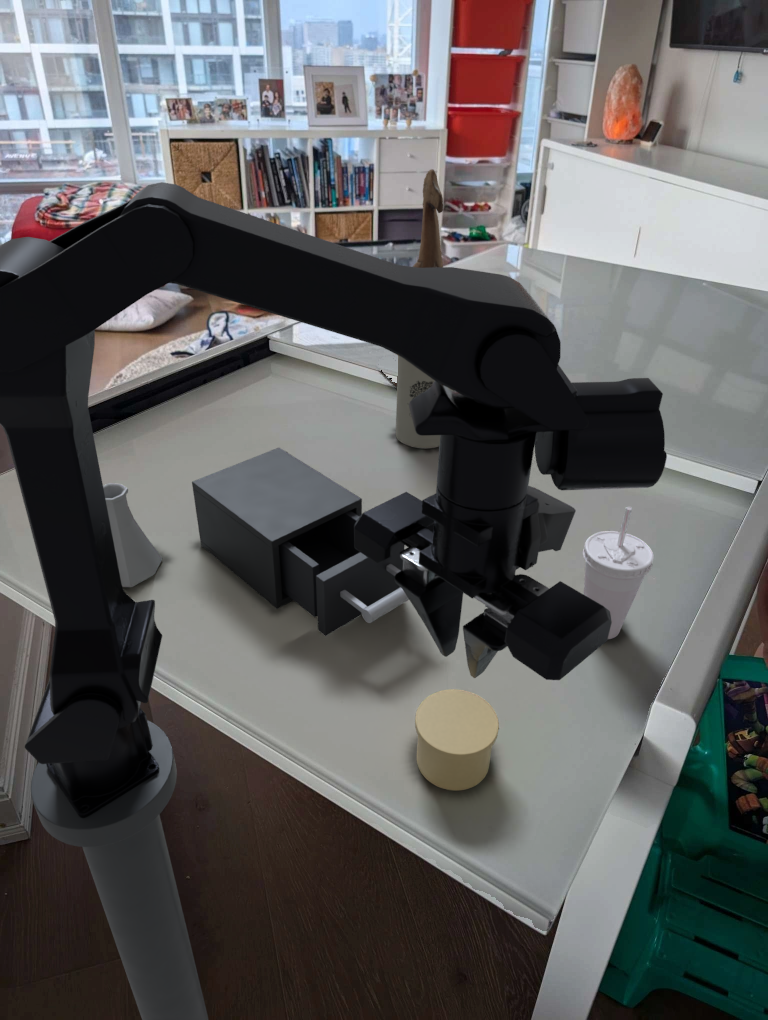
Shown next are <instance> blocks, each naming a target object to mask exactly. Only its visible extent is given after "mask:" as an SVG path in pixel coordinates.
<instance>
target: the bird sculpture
mask: <svg viewBox="0 0 768 1020" xmlns="http://www.w3.org/2000/svg"><path fill="white" fill-rule="evenodd" d="M422 199H423V200H422V223H421V234H420V235H421V237H420V245H419V252H418V259H417V261H416V262H415V263H414V264H413V266H412V267H417V268H436V267H444V266H443V265H444V264H443V257H442V256H443V254H442V246H441V235H440V225H439V224H440V223H439V221H440V220H439V215H438V214H441V213H443V211H444V198H443V194H442V192H441V189H440V186H439V180H438V175H437V173H436V171H435V169H434V168H431V169H429V170H428V171H427V172H426V174H425V177H424V178H423V185H422ZM391 384H393V385H394V386H395V387H397V383H395V382H391Z"/></svg>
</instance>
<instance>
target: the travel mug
mask: <svg viewBox="0 0 768 1020" xmlns="http://www.w3.org/2000/svg"><path fill="white" fill-rule="evenodd" d="M434 381H435V380H433V379H432V378H430V377H429V376H428V375H426V374H425V373H423V372H422V371H421V370H419V369H418V368H416V367H415V366H414V365H412V364H411V363H409V362H408V361H407V360H405V359H404V358H402V357H401V356H399V355H398V376H397V386H396V411H395V413H396V414H395V437H396V439H397V440H398V441H399V442H401V443H402V444H404V445H406V446H409V447H411V448H415V449H416V448H417V449H423V450H424V449H434V448H439V445H440V435H428V436H421V435H418V434H417V433H416V431H415V427H414V424H413V420H412V416H411V413H410V409H409V403H410V401H411V400H412V399H414V398H416V397H417V396H418V395H420V394H421V393H423V392H425V391H427V390H428V389H429V388H430V387H431V386H432V385H433V383H434ZM447 388H448V387H447ZM448 389H450V388H448ZM450 390H452V389H450ZM452 391H454V390H452Z"/></svg>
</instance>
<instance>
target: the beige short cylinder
mask: <svg viewBox="0 0 768 1020" xmlns="http://www.w3.org/2000/svg"><path fill="white" fill-rule="evenodd" d="M414 727H415V730H416V735H417V743H416V744H417V745H416V764H417V767H418V770H419V771H420V773H421V774H422V776H423V777H424V778H425V779H426V780H427V781H428V782H429V783H430V784H432V785H434V786H436V787H438V788H440V789H443V790H447V791H465V790H469V789H471V788H474V787H476V786H477V785H479V784H480V783H481V782H482V781H483V780H484V779H485V777H486V776H487V774H488V772H489V769H490V762H491V756H492V749H493V746H494V744H495V743H496V740H497V738H498V736H499V735H498V734H499V729H500V728H499V727H500V722H499V717H498V715H497V712H496V711H495V709H494V707H493V706H492V705H491V704H490V703H489V702H488V701H487V700H486V699H485V698H484V697H482V696H480V695H479V694H476V693H473V692H472V691H468V690H463V689H453V688H451V689H443V690H439V691H436V692H434V693H431V694H430V695H428V696H426V697H425V698H424V699H423V700H422V701H421V702H420V704H419V705H418V707H417V709H416V711H415V719H414Z"/></svg>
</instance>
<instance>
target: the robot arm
mask: <svg viewBox="0 0 768 1020" xmlns="http://www.w3.org/2000/svg"><path fill="white" fill-rule="evenodd" d="M167 284H173V285H179V286H181V287H185V288H188V289H192V290H195V291H198V292H201V293H204V294H207V295H211V296H214V297H218V298H220V299H224V300H227V301H231V302H234V303H237V304H241V305H244V306H247V307H249V308H250V307H251V308H253V309H257V310H260V311H263V312H266V313H270V314H273V315H275V316H280V317H283V318H286V319H290V320H292V321H296V322H300V323H303V324H305V325H308V326H313V327H315V328H319V329H322V330H325V331H328V332H332V333H336V334H339V335H342V336H344V337H347V338H352V339H355V340H358V341H361V342H364V343H368V344H371V345H374V346H378V347H381V348H383V349H384V350H387V351H389V352H391V353H392V354H394V355H399V356H401V357H402V358H404V359H405V360H407V361H408V362H409V363H411V364H412V365H414V366H415V367H416V368H418V369H419V370H421V371H422V372H423V373H425V374H426V375H428V376H429V377H430V378H432V379H433V380H435V381H434V383H433V385H432V386H431V387H430V388H429V389H428V390H427V391H425V392H423V393H421V394H420V395H418V396H417V397H416V398H414V399H412V400H411V401H410V403H409V409H410V413H411V416H412V420H413V424H414V427H415V431H416V433H417V434H418V435H421V436H428V435H440V445H439V447H438V461H437V475H436V489H435V493H434V494H432V495H429V496H428V497H426V498H424V499H420V498H418V497H417V496H414V495H413V494H411V493H409V492H407V491H404V492H403V493H400V494H399V495H397V496H395V497H393V498H390V499H389V500H387V501H384V502H382V503H380V504H378V505H376V506H374V507H372V508H370V509H368V510H367V511H364V512H362V514H361V515H360V517H359V518H358V520H357V521H356V523H355V526H354V548H355V549H356V550H358V551H359V552H361V553H362V554H364V555H365V556H367V557H368V558H369V559H371V560H372V561H374V562H375V563H377V564H378V563H380V562H382V561H385V560H386V559H388V558H390V557H391V546H393V545H395V544H397V543H399V542H401V543H402V544H404V547H405V546H406V548H404V550H403V551H401V552H400V558H401V559H403V570H402V571H400V572H398V573H397V574H396V575H395V582H396V584H397V585H398V586H400V587H401V588H402V589H403V591H404V592H405V594H406V595H407V597H408V598H409V600H408V601H410V603H411V605H412V606H413V608H414V609H415V611H416V612H417V614H418V616H419V617H420V619H421V621H422V622H423V624H424V626H425V627H426V629H427V631H428V633H429V634H430V637H431V638H432V640H433V642H434V644H435V645H436V647H437V649H438V650H439V652H440V654H441V655H442V656H443V657H446V658H447V657H449V656H450V655H452V654H453V653H455V650H456V648H457V644H458V639H459V635H460V627H461V617H462V608H463V598H464V594H465V595H466V596H467V597H469V598H471V599H475V600H477V601H478V602H480V603H481V604H483V605H484V606H485V609H484V610H483V612H482V613H480V614H478V615H477V616H476V617H474V618H473V619H471V620H470V621H468V622H467V623H465V624H464V625H462V632H463V633H462V634H463V641H464V648H465V655H466V664H467V669H468V672H469V675H470V677H472V678H473V679H476V678H478V677H479V676H480V675H482V674H483V673H484V672H485V671H486V669H487V668H488V666H489V665H490V664H491V662H492V661H493V660H494V658H495V657H496V655H497V654H498V652H500V651H503V650H504V649H506V648H507V649H508V650H509V652H510V654H511V656H512V657H513V658H514V659H515V660H517V661H518V662H519V663H521V664H522V665H524V666H525V667H527V668H528V669H529V670H531V671H533V672H534V673H536V674H537V675H538V676H540V677H541V678H543V679H545V680H546V681H560V680H562V679H563V678H564V677H566V675H568V674H569V673H570V672H572V671H573V670H574V669H575V668H576V667H578V666H579V665H580V664H581V663H582V662H584V661H585V660H586V659H587V658H588V657H590V656H591V655H592V654H594V652H595V651H597V650H598V649H599V648H600V647H602V646H603V645H604V644H605V643H607V642H608V640H609V639H608V635H609V631H610V627H611V623H612V621H611V615H610V611H609V610H608V609H607V608H605V607H604V606H602V605H601V604H599V603H597V602H596V601H594V600H592V599H590V598H589V597H587V596H585V595H584V593H581V592H580V591H578V590H577V589H575V588H573V587H571V586H570V585H568V584H566V583H565V582H563V581H561V580H560V581H558V582H557V583H555V584H554V585H552V586H551V587H548V586H546V585H544V584H543V583H541V582H540V581H538V580H536V579H534V577H532V576H529V575H527V574H519V573H518V574H516V571H517V570H518V569H522V570H524V571H528V570H529V569H530V568H532V567H534V566H535V565H536V564H537V563H538V557H539V553H540V552H546V551H551V550H553V551H554V552H559V551H561V550H562V547H563V545H564V542H565V540H566V537H567V535H568V532H569V529H570V528H571V524H572V521H573V519H574V516H575V514H576V511H577V510H576V509H575V507H573V506H571V505H570V504H568V503H566V502H564V501H562V500H560V499H558V498H556V497H554V496H552V495H550V494H548V493H546V492H544V491H543V490H541V489H538V488H536V487H534V486H531V485H529V484H530V478H531V477H530V476H531V470H532V465H533V457H534V456H535V457H534V458H535V462H536V466H537V468H538V471H539V473H540V474H541V475H545V476H547V475H548V476H549V475H550V477H551V480H552V484H553V485H554V486H555V487H556V488H557V489H558V490H560V491H587V490H589V491H591V490H611V489H612V490H616V489H617V490H618V489H648V488H652V487H654V486H655V485H657V483H658V482H659V480H660V478H661V477H662V476H663V472H664V470H665V467H666V463H667V457H668V455H667V452H666V450H665V447H666V446H665V445H666V440H665V438H666V436H665V425H664V421H663V417H662V413H661V410H660V408H661V404H662V400H663V395H664V393H663V392H662V391H661V390H660V389H659V387H658V386H657V385H656V384H655V383H654V382H653V381H652V380H651V378H649V377H637V378H636V377H632V378H625V379H624V380H623V379H622V380H617V381H616V380H615V381H584V382H583V381H580V382H578V381H576V382H572V381H571V380H570V379H569V377H568V376H567V375H566V373H565V372H564V370H563V369H562V367H561V366H560V365H559V363H560V361H561V347H562V345H561V339H560V336H559V334H558V330H557V328H556V325H555V324H554V323H553V321H552V320H551V319H550V318H549V316H548V315H547V314H546V312H544V310H543V309H542V308H541V306H540V305H539V303H538V302H537V301H536V300H535V299H534V297H533V296H532V295H531V294H530V292H529V291H528V290H527V289H526V288H525V286H523V284H522V283H520V282H519V281H518V280H516V279H514V278H513V277H511V276H508V275H505V274H500V273H495V272H488V271H480V270H473V269H467V268H462V267H461V268H460V267H454V266H453V267H452V266H443V267H436V268H417V267H413V266H409V265H402V264H397V263H394V262H391V261H389V260H385V259H382V258H379V257H377V256H373V255H370V254H368V253H364V252H361V251H359V250H355V249H353V248H349V247H347V246H344V245H340V244H338V243H334V242H332V241H329V240H326V239H323V238H320V237H317V236H314V235H311V234H309V233H305V232H302V231H300V230H297V229H293V228H290V227H288V226H284V225H283V224H282V225H281V224H278V223H275V222H272V221H269V220H267V219H265V218H264V219H263V218H260V217H259V216H255V215H252V214H250V213H245V212H244V211H240V210H237V209H234V208H231V207H228V206H226V205H223V204H219V203H216V202H214V201H211V200H207V199H206V198H205V199H204V198H201V197H199V196H198V195H196V194H194V193H192V192H191V191H189V190H188V189H186V187H185V188H184V187H183V186H181V185H178V184H175V183H169V182H163V181H162V182H156V183H152V184H148V185H146V186H145V187H144V188H142V189H141V190H139V191H138V192H137V193H136V194H135V195H134V196H133V198H131V199H129V200H128V201H126V202H124V203H122V204H120V205H118V206H115V207H114V208H111V209H109V210H107V211H105V212H103V213H101V214H99V215H97V216H94V217H92V218H90V219H88V220H86V221H84V222H82V223H80V224H78V225H76V226H75V227H72V228H71V229H69V230H67V231H66V232H64V233H62V234H60V235H58V236H56V237H54V238H53V239H51V240H48V239H43V238H37V237H31V236H25V237H24V236H23V237H17V238H10V239H9V240H7V241H5V242H4V243H2V244H0V426H1V428H2V430H3V431H4V434H5V437H6V439H7V444H8V447H9V451H10V454H11V455H10V456H11V459H12V463H13V466H14V470H15V474H16V478H17V481H18V485H19V489H20V492H21V497H22V501H23V504H24V508H25V512H26V515H27V520H28V523H29V527H30V531H31V535H32V539H33V542H34V546H35V550H36V553H37V557H38V562H39V565H40V569H41V573H42V576H43V580H44V585H45V588H46V593H47V596H48V600H49V604H50V607H51V611H52V616H53V618H54V619H53V620H54V626H55V627H54V635H53V644H52V651H51V661H50V667H49V679H48V682H47V685H46V687H45V690H44V693H43V695H42V698H41V701H40V704H39V706H38V708H37V709H38V710H37V712H36V713H35V717H34V720H33V722H32V726H31V728H30V731H29V734H28V736H27V738H26V742H25V745H24V749H25V750H26V751H27V752H28V753H29V754H30V755H31V756H32V757H33V758H34V759H35V761H37V763H38V762H39V763H40V764H46V765H47V768H48V770H49V772H50V773H51V775H52V776H53V778H54V779H55V781H56V782H57V784H58V785H59V787H60V788H61V790H62V791H63V793H64V794H65V796H66V797H67V799H68V800H69V802H70V803H71V805H72V806H73V808H74V810H75V811H76V813H77V814H78V816H79V817H80V818H86V817H88V816H90V815H92V814H93V813H95V812H96V811H98V810H100V809H101V808H103V807H104V806H106V805H108V804H109V803H111V802H112V801H114V800H116V799H117V798H119V797H120V796H122V795H124V794H125V793H127V792H128V791H130V790H132V789H133V788H135V787H136V786H138V785H140V784H141V783H143V782H144V781H146V780H148V779H149V778H151V777H152V776H154V775H156V774H157V773H158V772H159V765H158V763H157V762H156V760H155V759H154V758H153V757H152V755H151V754H150V753H149V752H148V751H150V750H152V747H153V744H152V739H151V735H150V731H149V726H148V722H147V720H148V718H147V713H146V712H145V711H144V710H143V709H142V708H141V705H142V703H143V704H147V703H148V702H149V699H150V695H151V690H152V685H153V681H154V676H155V672H156V667H157V662H158V658H159V653H160V649H161V644H162V640H163V634H162V632H161V631H160V630H159V628H158V626H157V623H156V621H155V613H156V600H155V599H148V600H142V601H141V600H140V601H135V600H134V598H132V597H131V596H130V595H128V593H127V592H126V591H125V590H124V587H122V583H121V578H120V573H119V568H118V562H117V557H116V552H115V547H114V541H113V536H112V531H111V526H110V520H109V515H108V510H107V505H106V499H105V494H104V489H103V485H104V483H103V479H102V473H101V468H100V464H99V463H100V462H99V459H98V453H97V447H96V443H95V442H96V441H95V437H94V431H93V426H92V421H91V416H90V411H89V394H90V387H91V386H90V385H91V378H92V371H93V361H94V354H95V344H96V343H95V339H96V330H97V329H98V328H99V327H102V325H104V324H106V323H107V322H109V321H110V320H112V319H113V318H114V317H116V316H117V315H119V314H120V313H121V312H123V311H125V310H126V309H128V308H129V307H130V306H132V305H134V304H136V303H137V302H138V301H140V299H142V298H144V297H145V296H147V295H149V294H151V293H153V292H154V291H156V290H158V289H160V288H162V287H164V286H165V285H167ZM447 387H448V388H450V389H452V390H454V391H452V390H450V389H448V388H447ZM153 767H154V769H152V770H150V769H151V768H153ZM84 809H87V810H86V811H85V812H82V811H83V810H84Z"/></svg>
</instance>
